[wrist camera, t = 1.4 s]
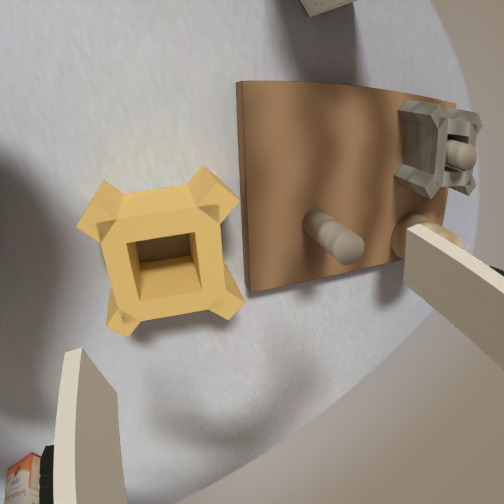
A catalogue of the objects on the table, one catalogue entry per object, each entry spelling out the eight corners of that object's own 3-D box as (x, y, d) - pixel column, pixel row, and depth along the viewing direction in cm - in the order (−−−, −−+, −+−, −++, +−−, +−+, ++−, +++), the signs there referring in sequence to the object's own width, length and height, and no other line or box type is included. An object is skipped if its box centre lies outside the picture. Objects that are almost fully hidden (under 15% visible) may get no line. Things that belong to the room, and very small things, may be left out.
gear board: (244, 281, 31) (273, 333, 24) (236, 82, 23) (271, 73, 16) (426, 244, 37) (470, 273, 30) (443, 101, 29) (498, 111, 22)
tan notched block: (115, 298, 27) (110, 340, 22) (88, 183, 23) (71, 205, 17) (228, 279, 30) (245, 316, 25) (220, 163, 25) (239, 179, 20)
